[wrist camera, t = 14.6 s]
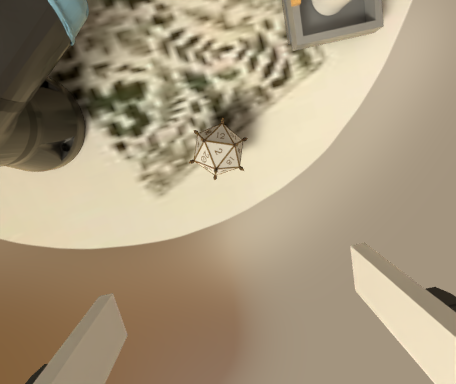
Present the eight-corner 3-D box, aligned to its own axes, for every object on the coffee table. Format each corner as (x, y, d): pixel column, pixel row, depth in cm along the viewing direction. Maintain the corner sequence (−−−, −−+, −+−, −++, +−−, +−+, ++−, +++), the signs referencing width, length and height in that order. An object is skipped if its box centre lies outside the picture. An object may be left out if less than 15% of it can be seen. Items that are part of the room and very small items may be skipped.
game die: (222, 158, 48) (217, 200, 41) (185, 130, 44) (172, 173, 37) (258, 130, 42) (259, 173, 36) (220, 96, 38) (213, 138, 32)
